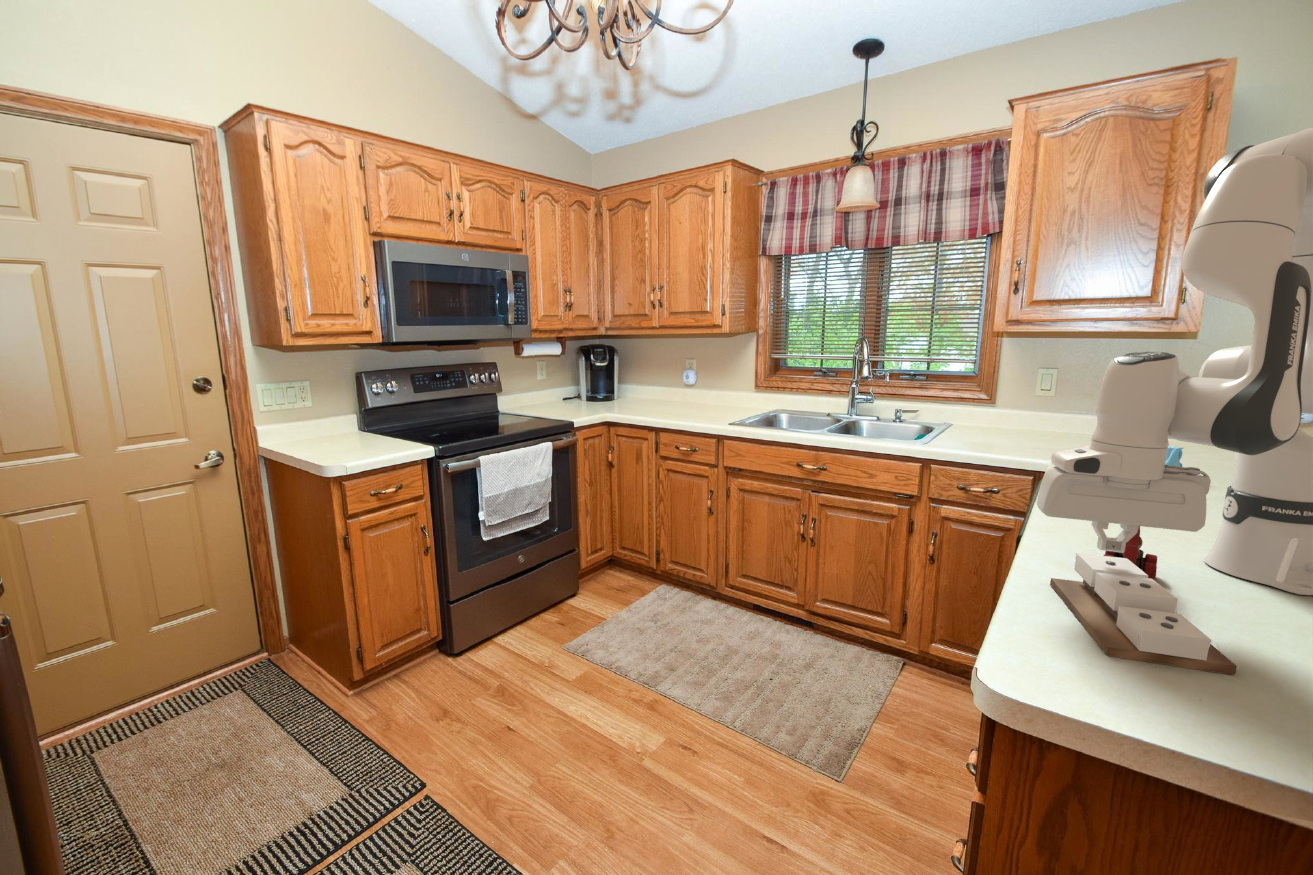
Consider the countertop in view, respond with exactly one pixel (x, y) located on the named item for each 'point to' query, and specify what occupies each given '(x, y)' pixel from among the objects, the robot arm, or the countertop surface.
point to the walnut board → (1113, 640)
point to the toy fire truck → (1137, 556)
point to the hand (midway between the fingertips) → (1110, 550)
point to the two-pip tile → (1133, 593)
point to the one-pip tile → (1104, 567)
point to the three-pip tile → (1163, 633)
